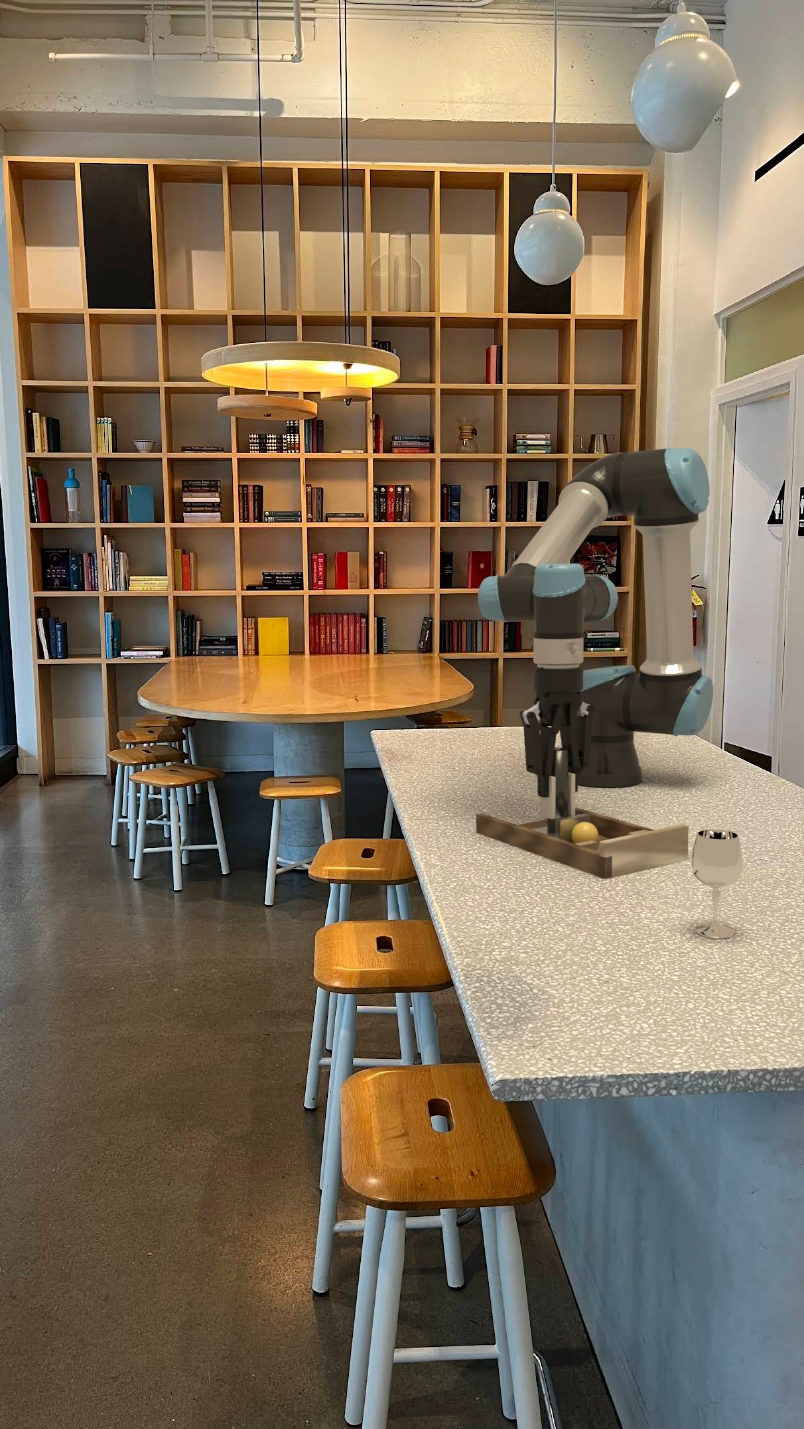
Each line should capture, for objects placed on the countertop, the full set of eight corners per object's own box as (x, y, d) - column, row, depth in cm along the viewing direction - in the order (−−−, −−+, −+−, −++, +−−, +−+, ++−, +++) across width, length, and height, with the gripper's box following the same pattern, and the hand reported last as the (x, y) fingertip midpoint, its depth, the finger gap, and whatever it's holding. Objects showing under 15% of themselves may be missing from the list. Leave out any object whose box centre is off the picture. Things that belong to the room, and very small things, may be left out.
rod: (522, 837, 160) (522, 749, 158) (566, 828, 165) (567, 743, 163) (552, 847, 154) (553, 756, 152) (597, 838, 159) (598, 750, 157)
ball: (563, 840, 155) (569, 818, 154) (583, 836, 158) (589, 815, 156) (579, 855, 153) (586, 833, 151) (599, 851, 155) (606, 829, 153)
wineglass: (682, 924, 125) (685, 829, 123) (728, 922, 125) (731, 827, 123) (700, 941, 119) (703, 841, 117) (748, 939, 119) (751, 839, 118)
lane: (476, 839, 165) (476, 802, 164) (552, 825, 173) (553, 789, 172) (605, 887, 139) (605, 843, 139) (687, 867, 148) (688, 826, 147)
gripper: (531, 671, 148) (531, 828, 152) (615, 663, 157) (613, 812, 160) (500, 667, 155) (501, 817, 158) (582, 660, 163) (581, 803, 167)
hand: (557, 814), depth 159 cm, fingers closed on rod, 3 cm apart
